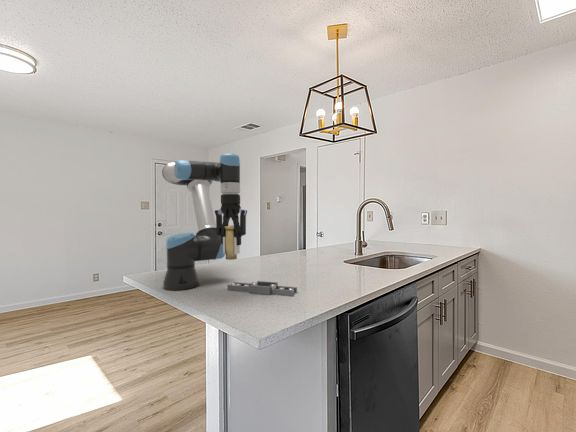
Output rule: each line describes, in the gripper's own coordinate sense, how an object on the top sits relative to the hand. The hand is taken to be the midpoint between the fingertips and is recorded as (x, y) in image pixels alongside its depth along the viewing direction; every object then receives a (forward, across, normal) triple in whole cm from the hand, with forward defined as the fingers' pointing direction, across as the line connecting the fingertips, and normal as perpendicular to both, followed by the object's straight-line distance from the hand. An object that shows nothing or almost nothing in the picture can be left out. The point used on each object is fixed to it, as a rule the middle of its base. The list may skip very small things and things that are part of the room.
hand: (231, 253), depth 121 cm
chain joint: (+17, +10, +9) cm, 21 cm away
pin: (+2, 0, 0) cm, 2 cm away
